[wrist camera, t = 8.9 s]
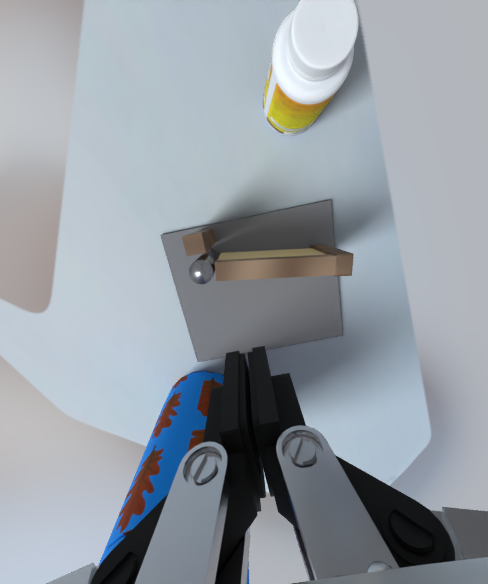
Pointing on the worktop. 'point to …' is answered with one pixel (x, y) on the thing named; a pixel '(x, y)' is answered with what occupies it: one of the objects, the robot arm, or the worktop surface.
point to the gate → (271, 264)
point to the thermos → (167, 450)
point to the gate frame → (256, 284)
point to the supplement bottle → (309, 62)
